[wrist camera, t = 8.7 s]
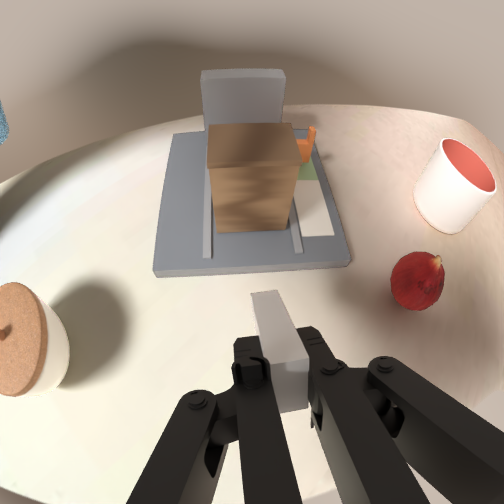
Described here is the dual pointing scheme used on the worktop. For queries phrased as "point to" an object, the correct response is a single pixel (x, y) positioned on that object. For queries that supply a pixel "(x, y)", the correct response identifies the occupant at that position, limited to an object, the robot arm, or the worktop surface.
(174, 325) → the worktop surface
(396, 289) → the onion
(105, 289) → the worktop surface
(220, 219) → the brown rectangular block
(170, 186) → the base
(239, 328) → the worktop surface
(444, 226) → the cup
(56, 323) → the lidded jar
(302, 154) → the orange bracket
